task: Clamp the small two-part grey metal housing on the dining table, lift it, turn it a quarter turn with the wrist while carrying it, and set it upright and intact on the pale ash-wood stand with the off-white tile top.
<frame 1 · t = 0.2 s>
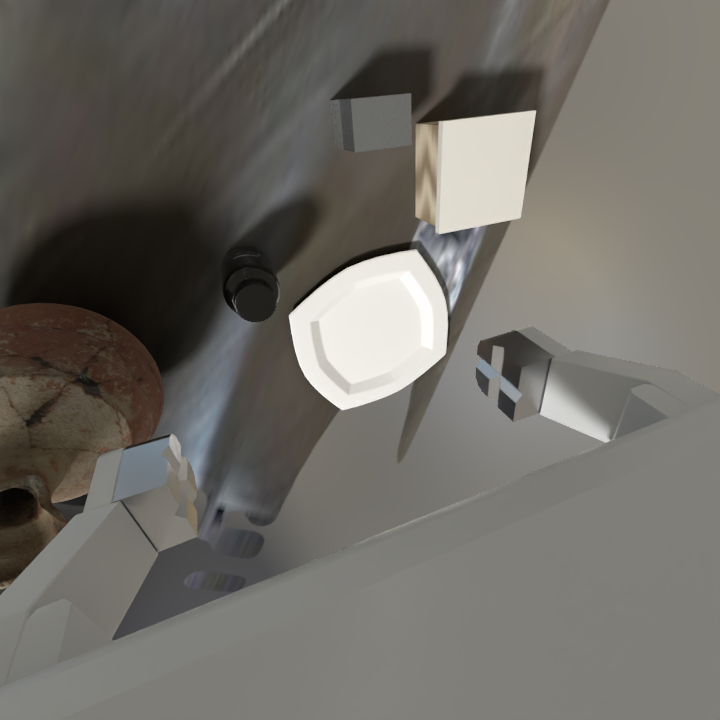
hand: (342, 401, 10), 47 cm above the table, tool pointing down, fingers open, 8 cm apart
plate: (371, 331, 68), on the table
housing: (358, 121, 50), on the table
stand: (453, 167, 57), on the table
supplement bottle: (245, 269, 55), on the table
jug: (77, 354, 53), on the table
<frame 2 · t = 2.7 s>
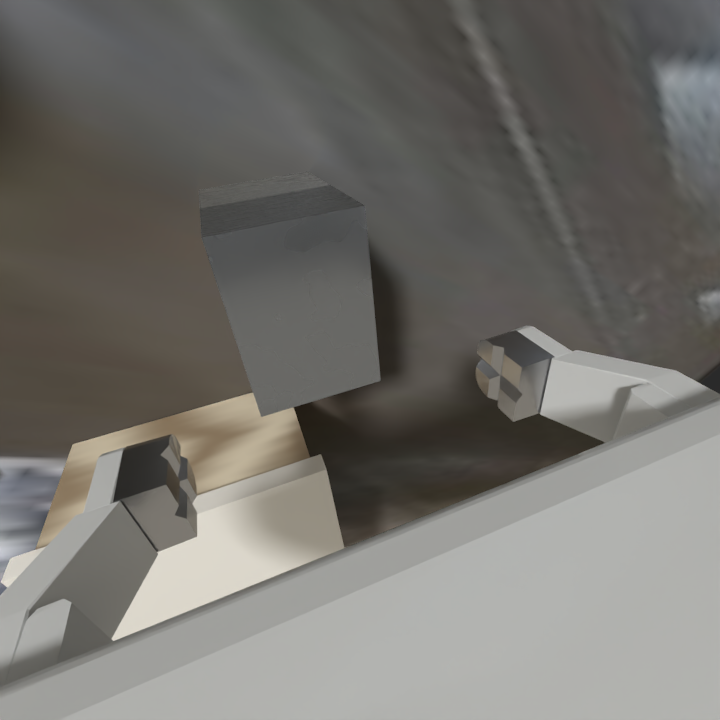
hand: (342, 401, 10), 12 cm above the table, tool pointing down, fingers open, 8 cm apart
housing: (271, 253, 20), on the table
stand: (216, 477, 27), on the table
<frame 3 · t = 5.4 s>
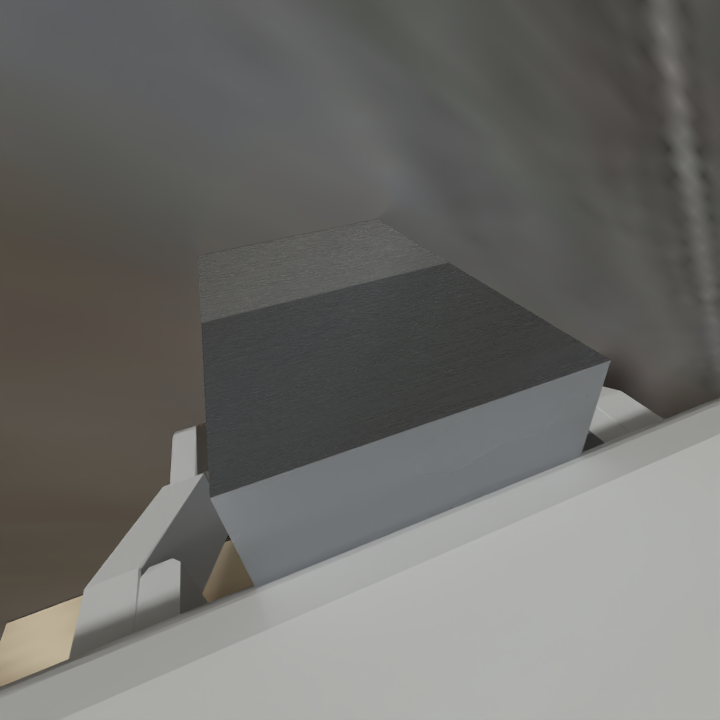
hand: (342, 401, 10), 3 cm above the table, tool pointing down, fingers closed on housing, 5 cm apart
housing: (313, 344, 13), on the table, touching gripper
stand: (223, 625, 19), on the table
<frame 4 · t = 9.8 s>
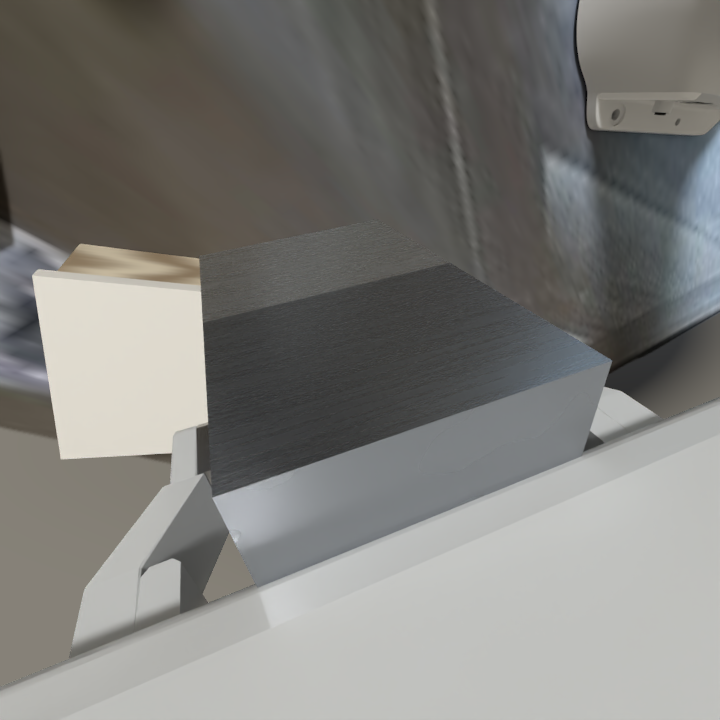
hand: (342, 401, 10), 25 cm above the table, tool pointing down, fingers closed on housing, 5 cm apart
housing: (314, 344, 13), point 21 cm above the table, touching gripper
stand: (173, 326, 33), on the table
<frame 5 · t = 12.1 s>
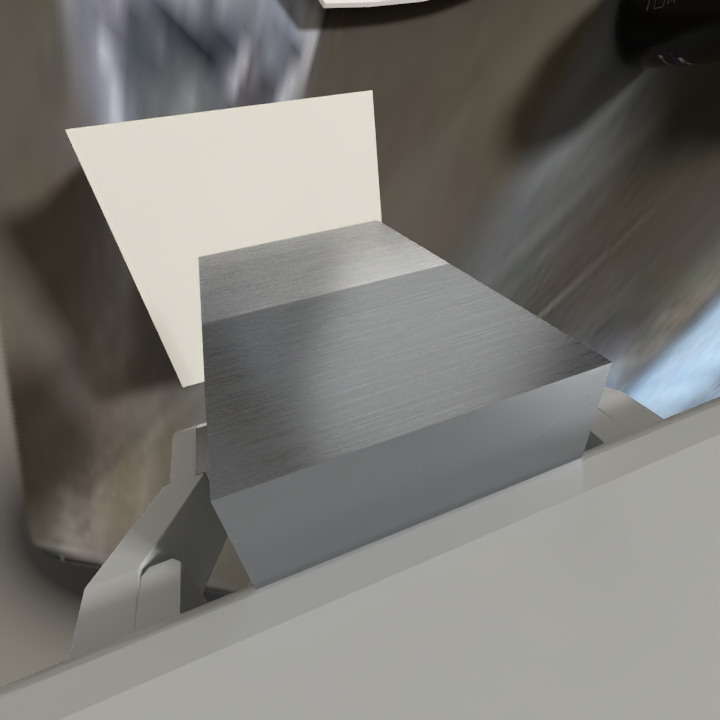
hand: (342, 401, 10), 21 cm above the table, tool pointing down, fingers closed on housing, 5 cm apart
housing: (313, 345, 13), point 18 cm above the table, touching gripper
stand: (249, 220, 27), on the table
supplement bottle: (648, 12, 29), on the table
when the fingers open (13 cm above the table, at t = 14.3 s): housing drops 1 cm, resting on stand.
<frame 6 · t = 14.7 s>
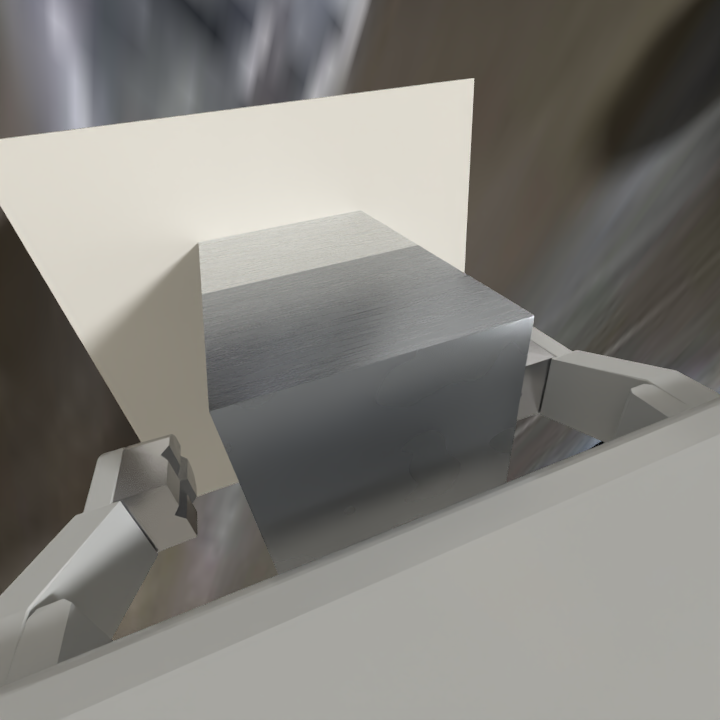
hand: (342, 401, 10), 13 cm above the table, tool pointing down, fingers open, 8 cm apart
housing: (304, 325, 14), point 8 cm above the table, touching stand
stand: (267, 256, 20), on the table
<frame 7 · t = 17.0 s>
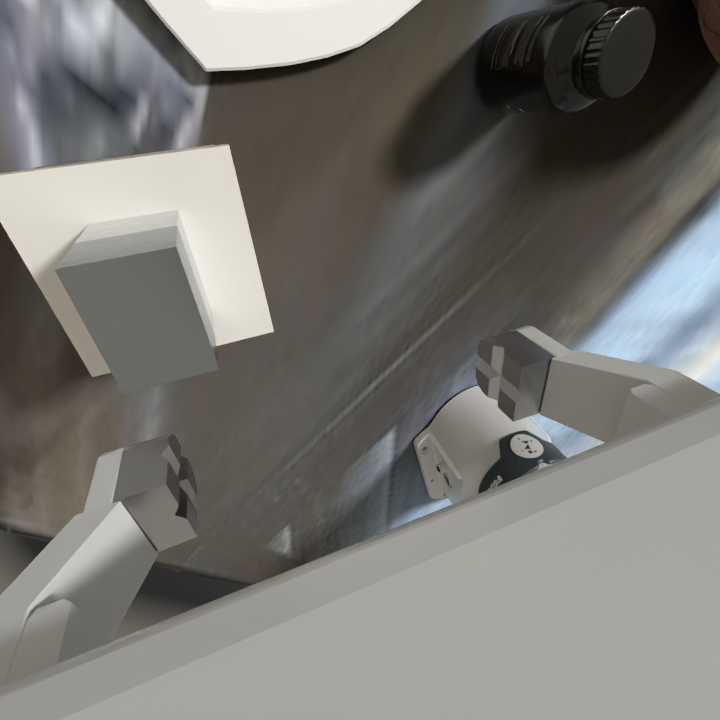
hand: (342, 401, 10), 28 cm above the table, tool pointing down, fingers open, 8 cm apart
housing: (156, 271, 26), point 8 cm above the table, touching stand
stand: (160, 237, 32), on the table
supplement bottle: (505, 67, 35), on the table
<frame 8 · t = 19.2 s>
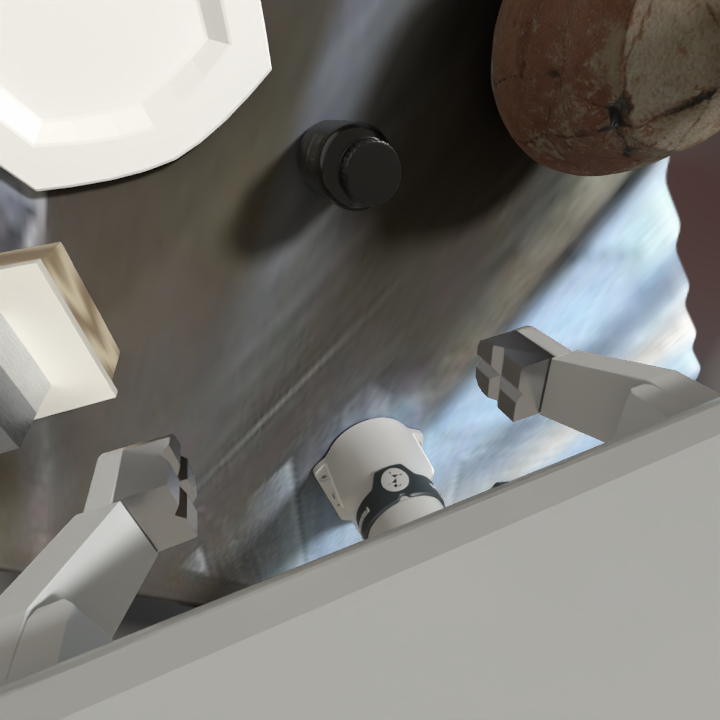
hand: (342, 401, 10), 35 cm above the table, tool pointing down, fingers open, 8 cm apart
stand: (24, 316, 38), on the table
supplement bottle: (329, 158, 40), on the table
jug: (537, 48, 41), on the table
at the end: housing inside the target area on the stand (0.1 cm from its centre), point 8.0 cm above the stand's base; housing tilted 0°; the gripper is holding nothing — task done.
